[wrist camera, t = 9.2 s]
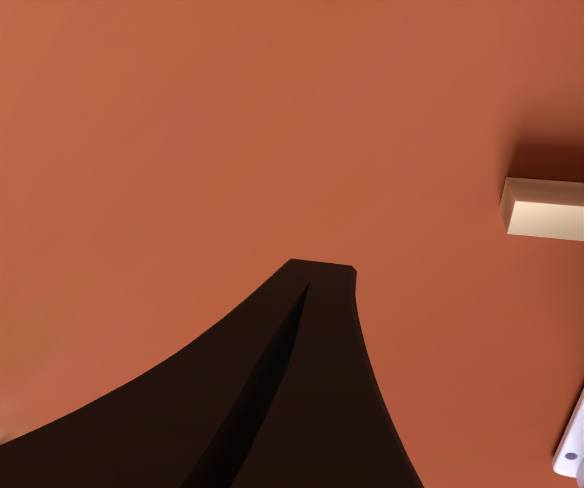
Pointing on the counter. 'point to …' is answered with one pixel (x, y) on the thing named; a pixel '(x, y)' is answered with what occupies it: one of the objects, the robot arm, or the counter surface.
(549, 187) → the lane rails
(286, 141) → the counter surface
